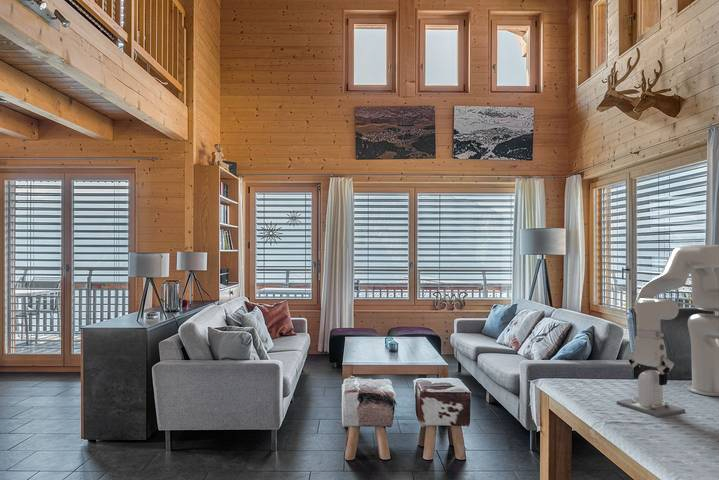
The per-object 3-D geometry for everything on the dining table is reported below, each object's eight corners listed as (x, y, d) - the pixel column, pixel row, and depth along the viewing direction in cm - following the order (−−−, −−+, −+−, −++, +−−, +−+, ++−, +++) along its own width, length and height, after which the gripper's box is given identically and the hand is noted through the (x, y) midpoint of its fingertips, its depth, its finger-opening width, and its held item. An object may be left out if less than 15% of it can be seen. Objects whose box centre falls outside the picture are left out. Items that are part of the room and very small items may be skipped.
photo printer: (652, 401, 175) (652, 367, 176) (665, 404, 172) (664, 369, 172) (636, 405, 170) (636, 370, 171) (648, 408, 166) (648, 373, 167)
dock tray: (642, 399, 181) (642, 392, 181) (685, 412, 166) (685, 404, 167) (616, 403, 176) (616, 397, 176) (658, 417, 161) (658, 409, 161)
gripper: (679, 337, 166) (680, 386, 165) (633, 330, 182) (634, 375, 181) (665, 338, 163) (666, 388, 162) (620, 331, 179) (621, 377, 178)
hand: (649, 381), depth 172 cm, fingers open, 9 cm apart
